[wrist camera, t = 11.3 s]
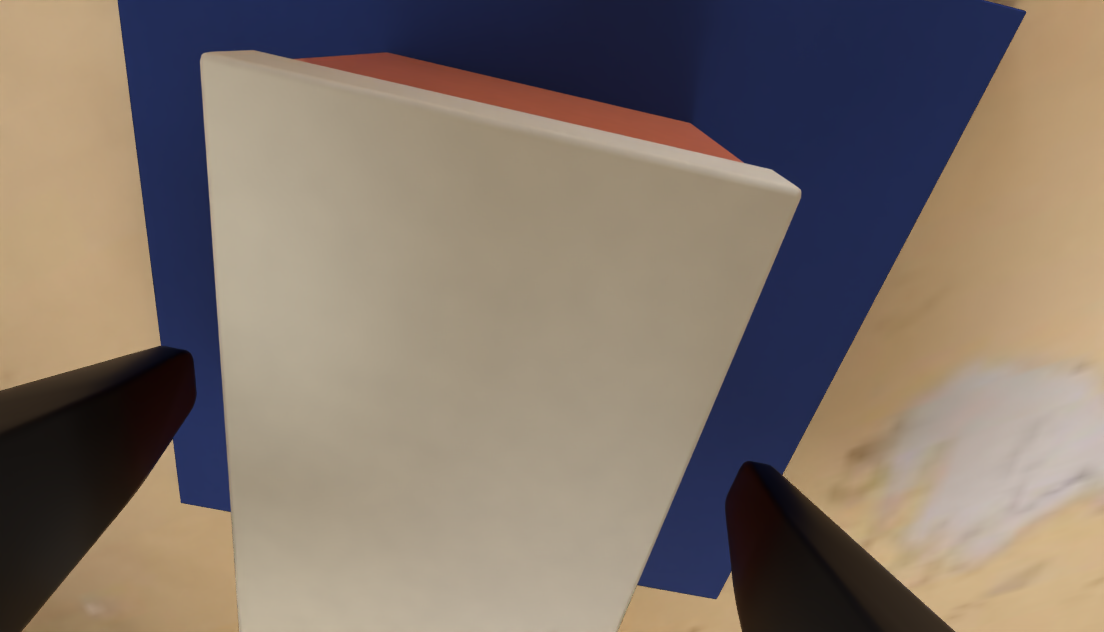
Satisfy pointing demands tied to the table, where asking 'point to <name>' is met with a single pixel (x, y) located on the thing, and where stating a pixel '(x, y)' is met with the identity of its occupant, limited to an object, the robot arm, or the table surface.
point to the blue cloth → (643, 85)
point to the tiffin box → (463, 337)
